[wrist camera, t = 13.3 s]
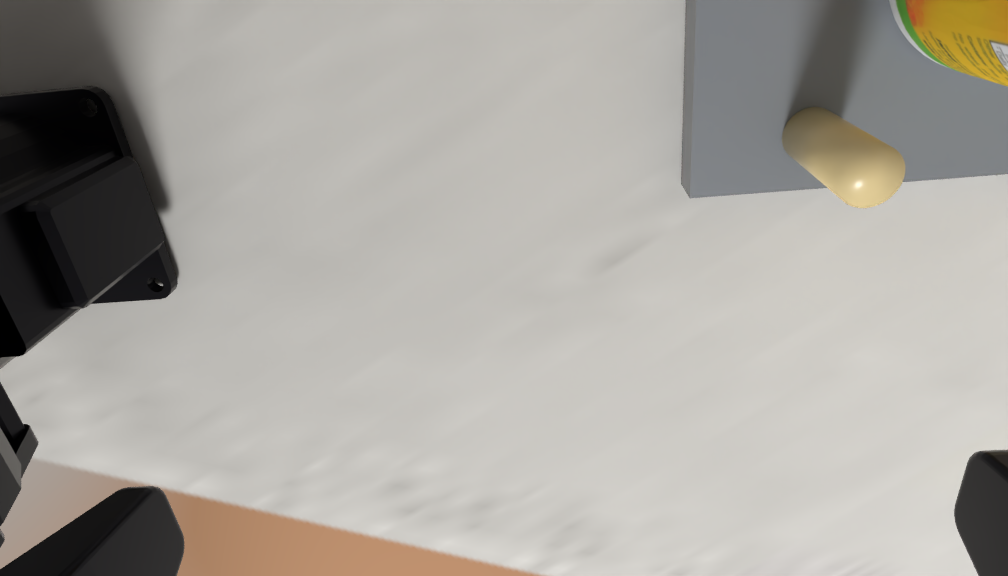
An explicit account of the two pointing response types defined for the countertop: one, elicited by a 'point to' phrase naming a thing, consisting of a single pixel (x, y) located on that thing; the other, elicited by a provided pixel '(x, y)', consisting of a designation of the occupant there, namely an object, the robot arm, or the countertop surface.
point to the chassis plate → (826, 103)
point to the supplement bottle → (959, 34)
